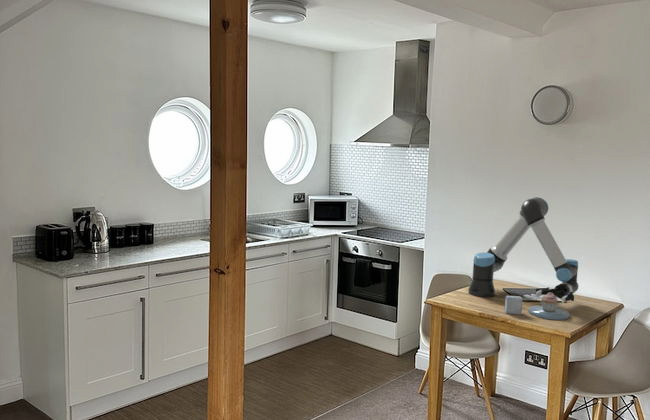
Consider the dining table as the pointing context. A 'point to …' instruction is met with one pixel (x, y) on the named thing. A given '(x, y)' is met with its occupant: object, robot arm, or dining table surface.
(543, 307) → the cupcake
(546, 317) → the dish
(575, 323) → the dining table surface
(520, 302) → the medicine box
